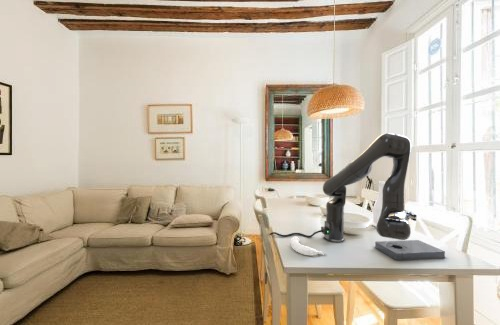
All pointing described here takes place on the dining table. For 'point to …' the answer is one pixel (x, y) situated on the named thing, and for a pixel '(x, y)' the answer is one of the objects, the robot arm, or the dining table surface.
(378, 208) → the wine bottle
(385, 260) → the dining table surface
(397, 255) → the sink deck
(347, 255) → the dining table surface
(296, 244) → the banana
